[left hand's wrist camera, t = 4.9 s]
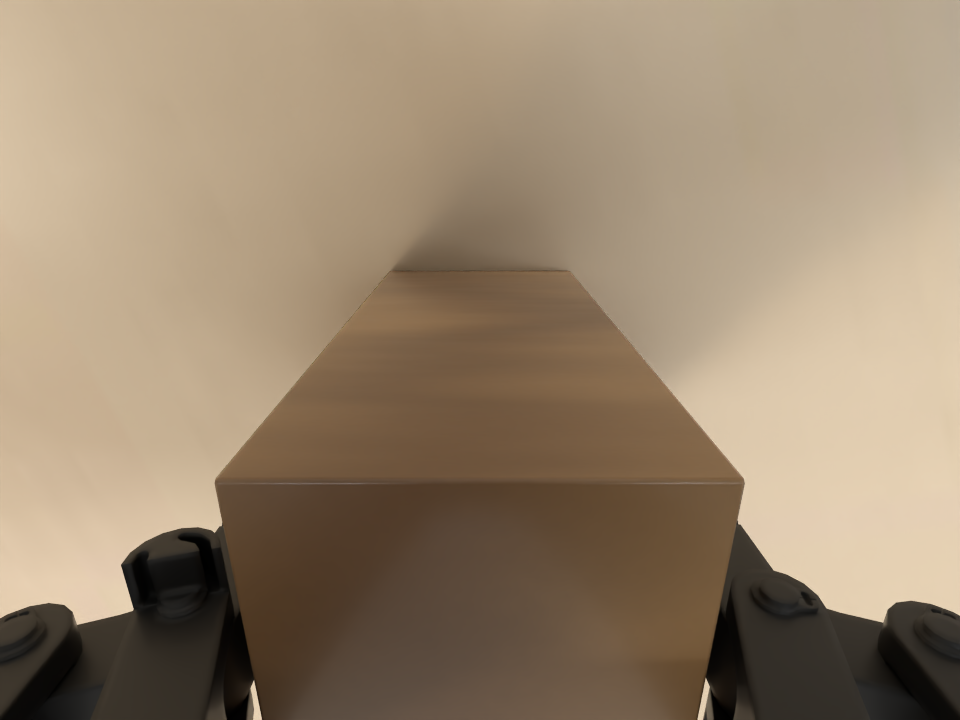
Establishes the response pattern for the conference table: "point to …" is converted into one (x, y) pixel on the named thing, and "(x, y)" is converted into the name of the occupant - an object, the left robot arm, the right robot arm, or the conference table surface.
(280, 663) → the block
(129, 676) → the left robot arm
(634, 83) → the conference table surface
